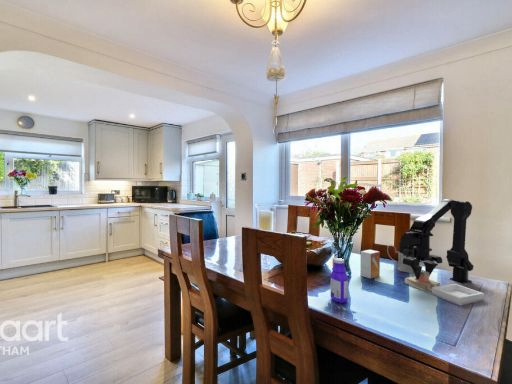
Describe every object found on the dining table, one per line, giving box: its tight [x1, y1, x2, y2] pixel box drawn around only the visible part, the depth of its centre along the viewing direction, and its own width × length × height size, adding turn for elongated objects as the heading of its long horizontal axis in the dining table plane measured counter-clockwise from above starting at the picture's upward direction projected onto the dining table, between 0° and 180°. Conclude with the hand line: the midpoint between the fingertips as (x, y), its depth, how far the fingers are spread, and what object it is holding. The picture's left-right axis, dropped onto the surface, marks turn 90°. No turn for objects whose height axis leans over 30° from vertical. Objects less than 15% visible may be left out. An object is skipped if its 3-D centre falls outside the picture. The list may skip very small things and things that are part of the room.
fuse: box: [416, 269, 430, 283], centre depth 130 cm, size 3×5×7 cm
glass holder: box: [386, 241, 414, 273], centre depth 156 cm, size 9×14×15 cm, turn 71°
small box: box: [359, 249, 381, 279], centre depth 145 cm, size 8×6×13 cm
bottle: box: [330, 257, 349, 304], centre depth 115 cm, size 7×6×17 cm
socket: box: [404, 276, 442, 292], centre depth 130 cm, size 9×11×2 cm
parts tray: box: [431, 283, 485, 306], centre depth 117 cm, size 14×12×3 cm
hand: (422, 278), depth 130 cm, fingers open, 6 cm apart
